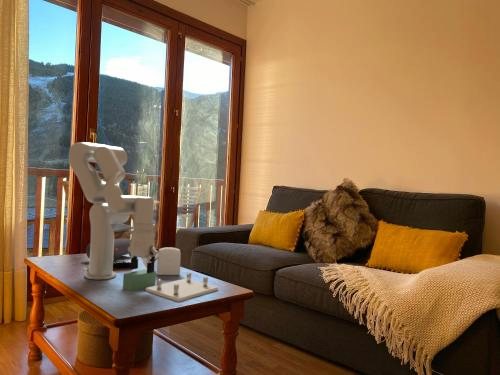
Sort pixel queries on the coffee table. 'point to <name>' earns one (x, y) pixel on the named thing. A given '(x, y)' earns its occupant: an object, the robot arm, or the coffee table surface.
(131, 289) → the board block
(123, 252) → the bluetooth speaker
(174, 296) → the standoff plate
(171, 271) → the photo printer
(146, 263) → the spinning top
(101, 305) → the coffee table surface
